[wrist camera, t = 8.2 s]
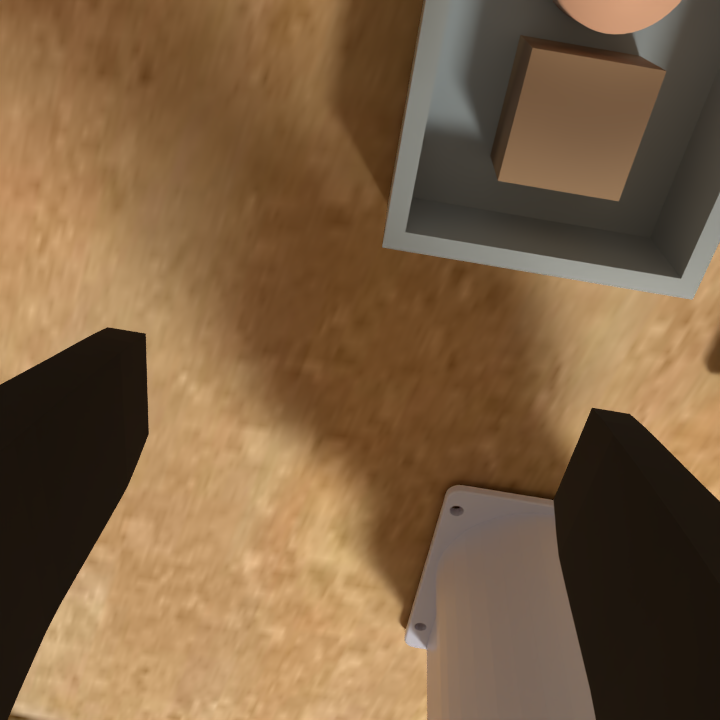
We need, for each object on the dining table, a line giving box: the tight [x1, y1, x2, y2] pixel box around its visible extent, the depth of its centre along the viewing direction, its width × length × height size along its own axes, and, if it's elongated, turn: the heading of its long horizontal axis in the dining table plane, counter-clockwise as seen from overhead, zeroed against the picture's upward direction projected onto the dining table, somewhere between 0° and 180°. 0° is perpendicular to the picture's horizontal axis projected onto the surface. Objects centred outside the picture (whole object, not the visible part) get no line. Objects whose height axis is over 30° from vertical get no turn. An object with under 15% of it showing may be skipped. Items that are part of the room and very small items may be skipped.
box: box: [382, 0, 720, 300], centre depth 16 cm, size 10×8×3 cm
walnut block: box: [490, 35, 666, 201], centre depth 17 cm, size 3×3×2 cm
